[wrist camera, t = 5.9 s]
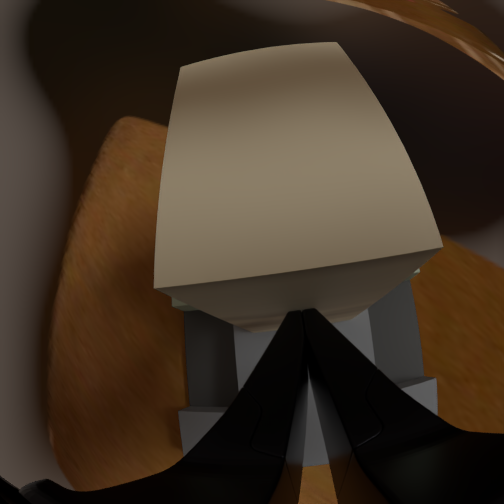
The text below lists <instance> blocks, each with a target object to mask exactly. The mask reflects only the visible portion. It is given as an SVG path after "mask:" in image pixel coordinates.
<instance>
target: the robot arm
mask: <svg viewBox="0 0 504 504" xmlns="http://www.w3.org/2000/svg"><path fill="white" fill-rule="evenodd" d="M308 372H309V375H308ZM309 379H310V384H311V388H312V392H313V396H314V400H315V404H316V408H317V413H318V417H319V421H320V425H321V429H322V434H323V438H324V442H325V447H326V451H327V455H328V460H329V464H330V469H331V473H332V478H333V483H334V487H335V492H336V497H337V502H338V504H504V434H500V433H481V432H470V431H465V430H462V429H459V428H456V427H454V426H452V425H450V424H449V423H447V422H446V421H444V420H443V419H441V418H440V417H439V416H437V415H436V414H434V413H433V412H432V411H430V410H429V409H427V408H426V407H425V406H423V405H422V404H420V403H419V402H418V401H416V400H415V399H413V398H412V397H411V396H410V395H408V394H407V393H406V392H404V391H403V390H402V389H401V388H399V387H398V386H397V385H396V384H395V383H394V382H392V381H391V380H390V379H389V378H388V377H387V376H386V375H385V374H384V373H383V372H382V371H381V370H380V369H378V368H377V367H376V366H375V365H374V364H373V363H372V362H371V361H370V360H369V359H368V358H367V357H366V356H365V355H364V354H363V353H362V352H361V351H360V350H359V349H358V348H357V347H356V346H355V345H353V344H352V343H351V342H350V341H349V340H348V339H347V338H346V337H345V336H344V335H343V334H342V333H341V332H340V331H339V330H338V329H337V328H336V327H335V326H334V325H333V324H332V323H331V322H329V321H328V320H327V319H326V318H325V317H324V316H323V315H322V314H321V313H320V312H319V311H318V310H317V309H316V308H310V309H304V310H302V311H301V310H296V311H289V312H288V313H287V314H286V316H285V318H284V319H283V321H282V323H281V324H280V326H279V328H278V330H277V331H276V333H275V335H274V336H273V338H272V340H271V341H270V343H269V345H268V346H267V348H266V350H265V351H264V353H263V355H262V356H261V358H260V360H259V361H258V363H257V365H256V366H255V368H254V369H253V371H252V373H251V374H250V376H249V377H248V379H247V380H246V382H245V384H244V385H243V388H241V390H240V391H239V393H238V394H237V396H236V397H235V399H234V400H233V402H232V403H231V404H230V406H229V407H228V409H227V410H226V411H225V412H224V414H223V415H222V416H221V417H220V418H219V420H218V421H217V422H216V423H215V424H214V425H213V427H212V428H211V429H210V430H209V431H208V432H207V433H206V434H205V435H204V436H203V437H202V438H201V439H200V440H199V442H198V443H197V444H196V445H195V446H194V447H193V448H192V449H191V450H190V451H189V452H188V453H187V454H186V455H185V456H184V457H183V458H182V459H181V460H180V461H178V462H177V463H176V464H175V465H173V466H171V467H170V468H168V469H166V470H164V471H162V472H160V473H157V474H154V475H151V476H148V477H145V478H142V479H139V480H135V481H132V482H128V483H125V484H121V485H117V486H113V487H109V488H105V489H100V490H95V491H73V490H69V489H66V488H64V487H62V486H60V485H59V484H57V483H55V482H53V481H51V480H49V479H43V480H39V481H35V482H32V483H29V484H27V485H25V486H24V487H22V488H21V489H18V488H17V487H15V486H14V485H12V484H11V483H9V482H8V481H7V480H5V479H4V478H2V477H1V476H0V504H298V502H299V494H300V486H301V478H302V468H303V458H304V448H305V436H306V422H307V407H308V388H309Z"/></svg>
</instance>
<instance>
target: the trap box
mask: <svg viewBox="0 0 504 504" xmlns="http://www.w3.org/2000/svg"><path fill="white" fill-rule="evenodd" d="M419 272H420V270H419V269H417V270H416V271H415V272H414V273H413V274H411V275H410V276H409V277H408V278H406V279H405V280H404V281H403V282H401V283H400V284H399V285H398V286H396V287H395V288H394V289H393V290H391V291H390V292H389V293H387V294H386V295H385V296H383V297H382V298H381V299H379V300H378V301H377V302H375V303H374V304H373V305H371V306H370V307H368V308H367V309H366V310H364V311H363V312H361V313H360V314H359V315H357V316H356V317H354V318H353V319H351V320H346V321H340V322H334V323H332V324H333V325H334V326H335V327H336V328H337V329H338V330H339V331H340V332H341V333H342V334H343V335H344V336H345V337H346V338H347V339H348V340H349V341H350V342H351V343H352V344H353V345H355V346H356V347H357V348H358V349H359V350H360V351H361V352H362V353H363V354H364V355H365V356H366V357H367V358H368V359H369V360H370V361H371V362H372V363H373V364H374V365H375V366H376V367H377V368H378V369H380V370H381V371H382V372H383V373H384V374H385V375H386V376H387V377H388V378H389V379H390V380H391V381H392V382H394V383H395V384H396V385H397V386H398V387H399V388H401V389H402V390H403V391H404V392H406V393H407V394H408V395H410V396H411V397H412V398H413V399H415V400H416V401H418V402H419V403H420V404H422V405H423V406H425V407H426V408H427V409H429V410H430V411H432V412H433V413H434V414H436V415H437V383H436V378H433V377H425V376H424V371H423V360H422V350H421V342H420V335H419V328H418V321H417V315H416V309H415V304H414V299H413V294H412V289H411V284H410V279H411V278H413V277H414V276H415V275H417V274H418V273H419ZM172 307H174V308H177V309H179V310H182V311H184V328H185V349H186V365H187V379H188V391H189V402H190V406H189V407H187V408H184V409H182V410H179V411H178V415H179V424H180V432H181V440H182V447H183V454H184V456H185V455H186V454H187V453H188V452H189V451H190V450H191V449H192V448H193V447H194V446H195V445H196V444H197V443H198V442H199V440H200V439H201V438H202V437H203V436H204V435H205V434H206V433H207V432H208V431H209V430H210V429H211V428H212V427H213V425H214V424H215V423H216V422H217V421H218V420H219V418H220V417H221V416H222V415H223V414H224V412H225V411H226V410H227V409H228V407H229V406H230V404H231V403H232V402H233V400H234V399H235V397H236V396H237V394H238V393H239V391H240V390H241V388H243V385H244V384H245V382H246V380H247V379H248V377H249V376H250V374H251V373H252V371H253V369H254V368H255V366H256V365H257V363H258V361H259V360H260V358H261V356H262V355H263V353H264V351H265V350H266V348H267V346H268V345H269V343H270V341H271V340H272V338H273V336H274V335H275V333H276V331H277V330H276V331H267V332H258V333H253V332H250V331H248V330H245V329H243V328H240V327H238V326H236V325H233V324H231V323H228V322H226V321H224V320H221V319H219V318H217V317H214V316H212V315H210V314H208V313H205V312H203V311H201V310H199V309H196V308H194V307H192V306H190V305H188V304H185V303H183V302H181V301H179V300H177V299H175V298H173V297H172ZM308 375H309V372H308ZM322 464H329V460H328V455H327V451H326V447H325V442H324V438H323V434H322V429H321V425H320V421H319V417H318V413H317V408H316V404H315V400H314V396H313V392H312V388H311V384H310V379H309V388H308V407H307V422H306V436H305V448H304V458H303V467H305V466H314V465H322Z"/></svg>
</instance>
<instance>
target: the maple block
mask: <svg viewBox="0 0 504 504" xmlns="http://www.w3.org/2000/svg"><path fill="white" fill-rule="evenodd" d="M442 248H443V244H442V241H441V238H440V234H439V231H438V228H437V225H436V222H435V220H434V217H433V214H432V211H431V208H430V206H429V203H428V200H427V198H426V195H425V193H424V190H423V188H422V186H421V183H420V181H419V178H418V177H417V174H416V172H415V170H414V167H413V165H412V163H411V161H410V159H409V157H408V154H407V152H406V151H405V148H404V146H403V144H402V143H401V141H400V139H399V137H398V135H397V133H396V131H395V129H394V127H393V125H392V124H391V122H390V120H389V118H388V117H387V115H386V113H385V112H384V110H383V108H382V106H381V105H380V103H379V102H378V100H377V98H376V97H375V95H374V94H373V92H372V90H371V89H370V87H369V86H368V84H367V83H366V81H365V80H364V79H363V77H362V76H361V74H360V73H359V71H358V70H357V68H356V67H355V66H354V64H353V63H352V61H351V60H350V59H349V57H348V56H347V55H346V53H345V52H344V51H343V50H342V48H341V47H340V46H339V45H338V43H337V42H325V43H307V44H295V45H285V46H277V47H269V48H262V49H256V50H251V51H245V52H240V53H235V54H230V55H225V56H221V57H216V58H213V59H208V60H204V61H201V62H197V63H193V64H190V65H187V66H183V67H181V69H180V74H179V78H178V82H177V87H176V91H175V96H174V101H173V106H172V112H171V117H170V123H169V128H168V134H167V141H166V147H165V154H164V161H163V168H162V176H161V185H160V194H159V204H158V215H157V228H156V244H155V264H154V289H156V290H158V291H160V292H162V293H164V294H166V295H169V296H171V297H173V298H175V299H177V300H179V301H181V302H183V303H185V304H188V305H190V306H192V307H194V308H196V309H199V310H201V311H203V312H205V313H208V314H210V315H212V316H214V317H217V318H219V319H221V320H224V321H226V322H228V323H231V324H233V325H236V326H238V327H240V328H243V329H245V330H248V331H250V332H253V333H258V332H267V331H276V330H278V328H279V326H280V324H281V323H282V321H283V319H284V318H285V316H286V314H287V313H288V312H289V311H296V310H301V311H302V310H304V309H310V308H316V309H317V310H318V311H319V312H320V313H321V314H322V315H323V316H324V317H325V318H326V319H327V320H328V321H329V322H331V323H334V322H340V321H346V320H351V319H353V318H354V317H356V316H357V315H359V314H360V313H361V312H363V311H364V310H366V309H367V308H368V307H370V306H371V305H373V304H374V303H375V302H377V301H378V300H379V299H381V298H382V297H383V296H385V295H386V294H387V293H389V292H390V291H391V290H393V289H394V288H395V287H396V286H398V285H399V284H400V283H401V282H403V281H404V280H405V279H406V278H408V277H409V276H410V275H411V274H413V273H414V272H415V271H416V270H417V269H419V268H420V267H421V266H422V265H423V264H425V263H426V262H427V261H428V260H429V259H430V258H432V257H433V256H434V255H435V254H436V253H437V252H438V251H439V250H441V249H442Z"/></svg>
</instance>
